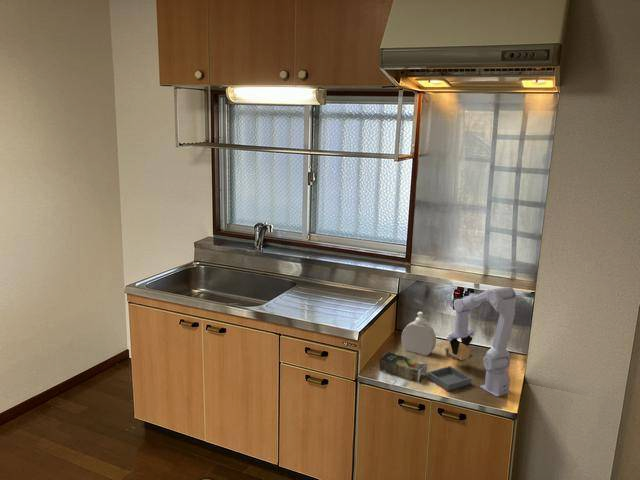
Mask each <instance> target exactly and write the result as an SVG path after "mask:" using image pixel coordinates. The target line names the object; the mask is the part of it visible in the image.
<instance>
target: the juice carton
mask: <svg viewBox="0 0 640 480" xmlns="http://www.w3.org/2000/svg"><path fill="white" fill-rule="evenodd" d="M379 370H380V371H382V372H383V371H384V372H386V373H387V374H391V375H394V376H398V377H401V378H405V379H407V380H410V381H414V382H418V383H419V382H421V381H423V380H424V377H426V376H427V372H428V363H426V362H423V361H419V360H416V359H414V358H410V357H407V356H404V355H399V354H396V353H393V352H387V353H385V354H384V355H383V356H382V357H380V358H379Z"/></svg>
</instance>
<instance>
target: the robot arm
mask: <svg viewBox="0 0 640 480" xmlns="http://www.w3.org/2000/svg"><path fill="white" fill-rule="evenodd" d="M517 297H518V295H517V293H516V292H515V289H514V288H513V287H511V286H506V287H500V288H491V289H487V290H485V291H483V292H481V293H474V292H470V293H468V295H467V296H466V295H464V296H463V297H462V298H455V299H454V302H453V309H454V311H455V321H454V330H453V332H452V333H450V334H449V335H447V336H446V340H447V341H448V342H449V343H450V344H451V347H452V352H453V354H455V355H457V352H458V346H459V344H460V343H462V344H464V345H466V346H468V347H469V345H470V343H471V342H472V341H473V337H472V336H474V334H475V331H474V330H472V329H469V319H470V314H471V311H472V310H473V309H475V308H478V307H479V306H481V305H482V302H486V301H487V302H488V303H490V304H491V306H492V307H493V309H494V310H495V311H496V312H498V313H499V317H498V321H497V325H496V329H495V332H494V333H495V334H494V338H493V342H492V346H491V348H490V349H488V350H487V351H486V353H485V356H484V357H483V359H482V364H483V367H484V369H485V370H486V371H485V379H484V384H482V385H480V386H479V387H480V388H481V389H483V390H484V391H486V392H488V393H490V394H491V395H493V396H495V397H496V398H497V397H500V396H503V395H506V394H509V393H511V391H510V383H511V377H510V376H509V375H508V374H507V372H506V371H507V368H509V366H510V364H511V362H510V361H511V360H510V358H511V357H510V355H511V352H509V351H508V350H507V348H508V344H509V340H510V337H511V336H510V335H511V331H512V328H513V323H514V319H515V315H516V302H517V299H518V298H517ZM458 339H460V340H461V341H459V340H458Z"/></svg>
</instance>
